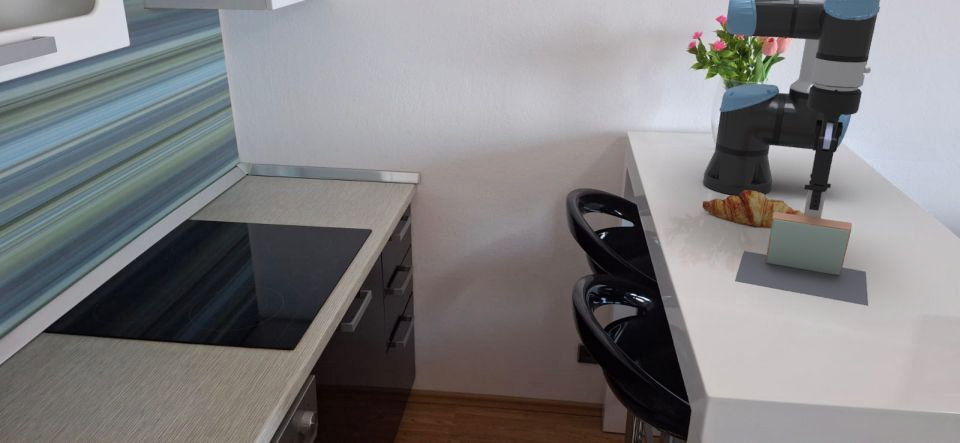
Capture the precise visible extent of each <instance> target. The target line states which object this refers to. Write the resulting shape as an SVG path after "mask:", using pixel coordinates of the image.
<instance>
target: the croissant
mask: <svg viewBox="0 0 960 443" xmlns="http://www.w3.org/2000/svg"><path fill="white" fill-rule="evenodd" d="M702 208H703V210H704V211H705V212H707V213H709V215H710V214H711V215H712V216H714V217H716V218H718V219H720V220H721V219H722V220H726V221H730V222H734V223H735V224H740V225H746V226H753V227H760V228H771V225H772V218H773V213H774V212H780V213H786V214H793V215H800V216H803V215H804V212H802V211H801V210H800V209H799V210H796V209H793V207H791V206H789V205H788V204H787V203H786V202H785V201H784V200H780V199H779V200H778V199H777V200H776V199H769V197H767V195H766V194H763V193H760V192H756V191H750V190H749V191H748V190H744V191H743V192H741V193H740V195H734V194H729V195H728V196H727V197H726V198H724V199H720V198H715V199H712V200H709V201H707V200H704V201H702Z"/></svg>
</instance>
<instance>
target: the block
mask: <svg viewBox="0 0 960 443" xmlns="http://www.w3.org/2000/svg"><path fill="white" fill-rule="evenodd" d="M852 226H853V224H852V223H851V222H846V221H839V220H833V219H827V218H826V219H825V218H821V219H820V218H814V217H807V216H800V215H793V214H786V213H780V212H774V213H773V218H772V225H771V227H770V233H769V239H768V245H767V249H766V250H767V252H766V255H767V256H766V263H770V264H776V265H782V266H788V267H793V268H799V269H805V270H811V271H817V272H822V273H828V274H834V275H840V274H841V270H842V268H843V265H844V262H845V257H846V253H847V249H848V246H849V241H850V237H851V232H852Z"/></svg>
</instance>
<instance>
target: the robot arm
mask: <svg viewBox="0 0 960 443" xmlns="http://www.w3.org/2000/svg"><path fill="white" fill-rule="evenodd" d="M880 1H881V0H728V6H727V7H728V8H727V14H726V27H725V28H726V32H728V33H729V34H731V35H736V36H746V37H749V38H751V37H762V38H783V39H786V38H788V39H796V40H799V39H800V40H805V41H804V46H803V52H802V53H803V54H802V58H801V64H800V70H799V76H798V78H797V79H796V80H795V81H794V82H792V83H791V84H790V86H789V91H788V92H787V93H783V92H782V93H781V92H780V89H779V86H777V85H775V84H767V83H754V84H753V83H752V84H742V85H741V84H740V85H736V86H732V87H730V88H728V89H727V90H725V92H723V95H722V99H721V104H720V107H719V112H720V113H719V120H718V128H717V134H716V142H715V147H714V148H715V149H714V152H713V153H712V156H711V158H710V160H709V162H708V165H707V166H706V168H705V171H704V173H703V180H702V183H703V186H706V187H707V188H709V189H711V190H713V191H716V192H719V193H723V194H729V195H735V196H739V195H740V193H741V192H743V191H744V190H748V191H749V190H750V191H756V192H760V193H763V194H764V195H766V194H768V193H769V192H771V190H772V185H773V176H772V172H771V165H770V161H769V152H770V146H777V147H785V148H786V147H787V148H796V149H803V150H812V151H815V153H814V159H813V163H812V164H813V165H812V168H811V169H812V170H811V173H810V175H809V178H810V180H809V183H808V184H804V190H807V194H806V199H805V205H804V208H803V209H804V210H803V214H804V215H803V216H807V217H814V218H820V219H822V214H823V210H824V205H825V204H824V203H825V200H826V199H825V198H826V195H827V194H826V193H827V190H828V189H831V186H832V184H831V183H829V178H830V174H831V173H830V172H831V168H832V163H833V162H832V161H833V157H834V153H836V152H837V150H838V148H839V147H840V145H841V144H842V142H843V140H844V138H845V135H846V134H847V131H848V127H849V124H850V122H851V119H852V115H855V114H857V113H858V111H859V109H860V103H861V98H862V95H863V94H862V93H863V92H862V90H861V89H860V88H861V87H863V85H864V82H865V74H870V73H871V67H869V66H867V65H868V61H869V56H870V50H871V46H872V42H873V36H874V31H875V27H876V23H877V18H878V13H879V12H880V9H881V7H880Z"/></svg>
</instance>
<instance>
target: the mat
mask: <svg viewBox="0 0 960 443" xmlns="http://www.w3.org/2000/svg"><path fill="white" fill-rule="evenodd" d="M766 256H767V254H765V253H764V254H763V253H760V252H759V253H758V252H753V251H746V250H743V253H742V257H741V260H740V264H739V266H738V268H737V269H738V270H737V273H736V276H735V279H734V282H737V283H742V284H748V285H755V286H758V287H764V288H768V289H769V288H770V289H776V290H781V291H784V292H785V291H787V292H792V293H797V294H798V293H799V294H802V295H803V294H804V295H808V296H813V297H819V298H824V299H830V300H834V301H841V302H846V303H852V304H857V305H863V306H867V307H868V306H869V299H868V297H869V296H868V283H867V271H865V270H859V269H852V268H846V267H842V270H841V274H840V275H834V274H828V273H822V272H817V271H811V270H805V269H799V268H793V267H788V266H782V265H776V264H770V263H766Z"/></svg>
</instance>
